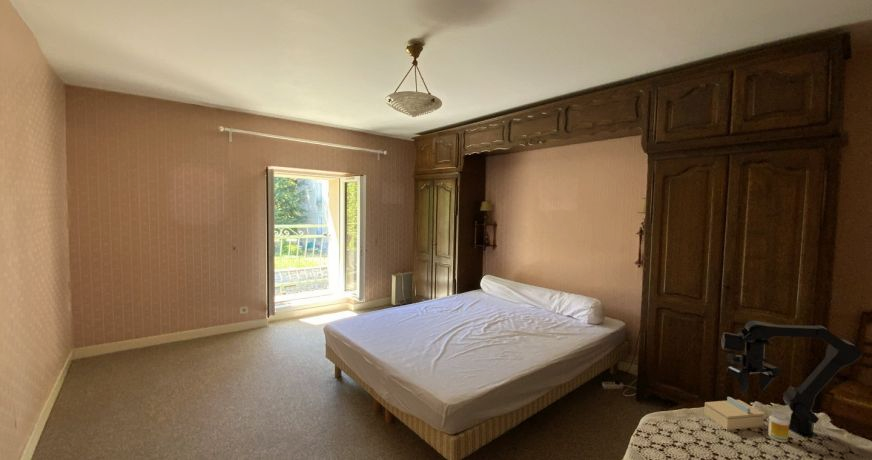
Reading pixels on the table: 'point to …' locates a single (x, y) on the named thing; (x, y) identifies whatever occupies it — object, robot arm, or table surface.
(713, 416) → the wooden box
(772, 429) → the supplement bottle
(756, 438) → the table surface
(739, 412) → the lid
